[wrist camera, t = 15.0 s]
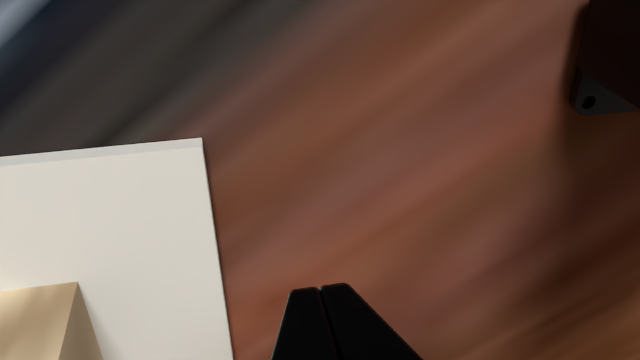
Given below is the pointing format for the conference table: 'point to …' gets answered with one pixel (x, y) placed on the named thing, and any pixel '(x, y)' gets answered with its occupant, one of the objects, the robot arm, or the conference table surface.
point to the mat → (121, 244)
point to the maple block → (46, 324)
